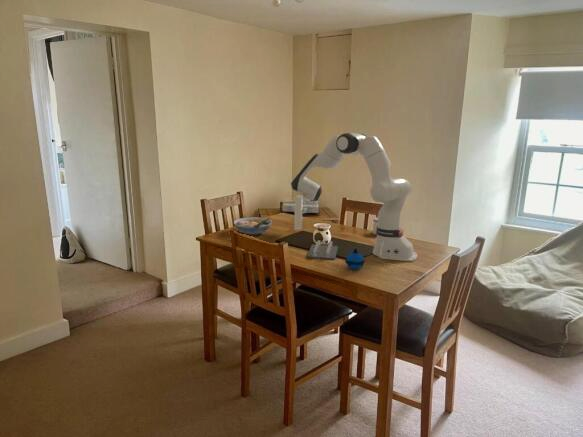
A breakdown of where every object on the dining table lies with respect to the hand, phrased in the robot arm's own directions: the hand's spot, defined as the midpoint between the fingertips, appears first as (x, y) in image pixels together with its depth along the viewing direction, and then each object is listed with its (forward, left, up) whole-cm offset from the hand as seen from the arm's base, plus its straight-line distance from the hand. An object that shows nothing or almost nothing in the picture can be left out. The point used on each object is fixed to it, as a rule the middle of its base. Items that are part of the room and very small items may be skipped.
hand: (298, 210), depth 236 cm
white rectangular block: (0, 0, -10) cm, 10 cm away
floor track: (-18, +8, -19) cm, 27 cm away
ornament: (-40, +24, -19) cm, 50 cm away
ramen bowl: (+32, -6, -19) cm, 38 cm away
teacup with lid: (-36, -44, -19) cm, 60 cm away
